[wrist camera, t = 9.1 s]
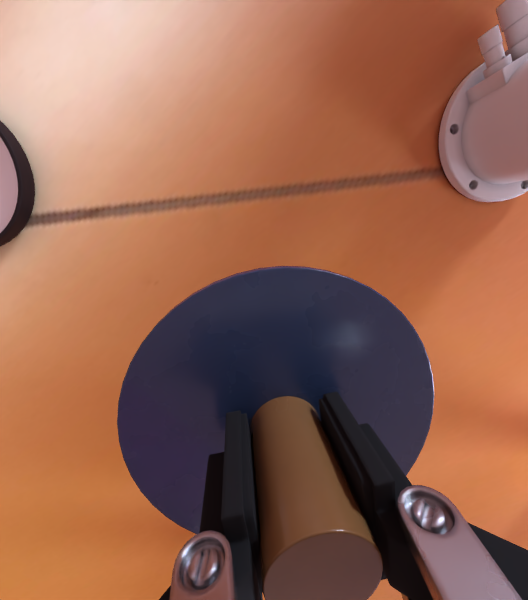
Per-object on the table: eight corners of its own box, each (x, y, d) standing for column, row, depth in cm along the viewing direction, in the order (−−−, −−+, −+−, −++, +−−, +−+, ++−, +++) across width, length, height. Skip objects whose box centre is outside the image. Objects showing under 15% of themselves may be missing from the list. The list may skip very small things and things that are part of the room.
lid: (58, 375, 11) (-165, 555, 5) (340, 198, 10) (490, 149, 4) (236, 562, 14) (237, 805, 8) (456, 435, 13) (630, 595, 7)
